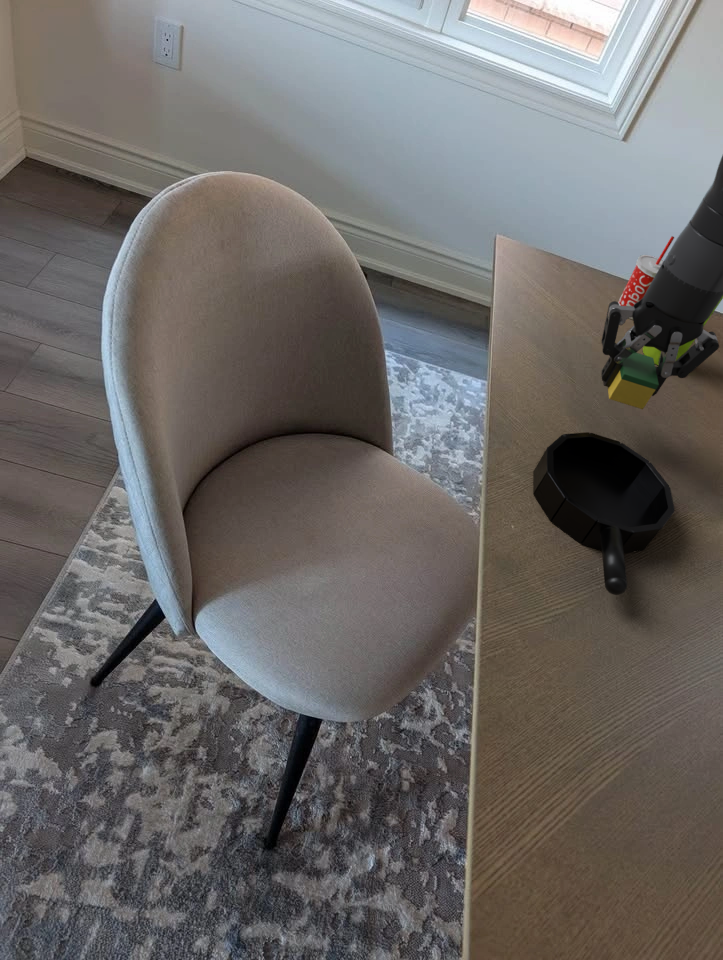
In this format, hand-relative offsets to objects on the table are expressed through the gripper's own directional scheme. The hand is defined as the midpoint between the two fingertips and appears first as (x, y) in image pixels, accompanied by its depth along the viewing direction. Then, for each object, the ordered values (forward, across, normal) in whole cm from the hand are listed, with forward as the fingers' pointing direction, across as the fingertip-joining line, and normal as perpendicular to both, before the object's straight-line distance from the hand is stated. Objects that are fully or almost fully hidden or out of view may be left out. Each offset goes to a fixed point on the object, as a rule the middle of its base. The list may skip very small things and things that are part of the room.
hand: (624, 388), depth 96 cm
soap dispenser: (+8, -12, -24) cm, 28 cm away
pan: (+8, +1, +18) cm, 20 cm away
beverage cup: (+8, -8, -36) cm, 38 cm away
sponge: (0, 0, 0) cm, 0 cm away
